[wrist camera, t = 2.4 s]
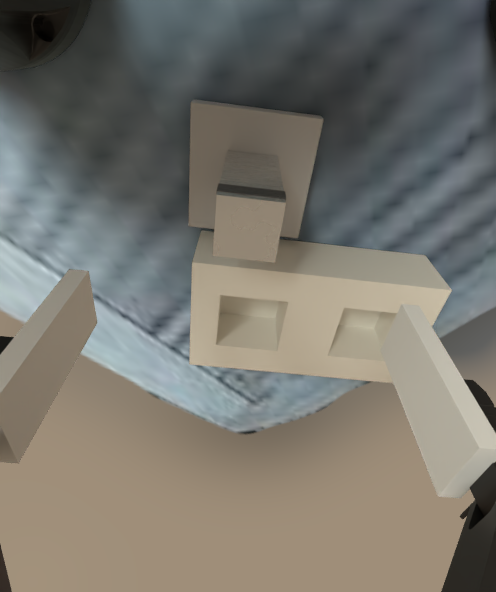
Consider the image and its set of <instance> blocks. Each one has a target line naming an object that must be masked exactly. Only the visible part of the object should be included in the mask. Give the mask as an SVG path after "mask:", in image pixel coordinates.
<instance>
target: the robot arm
mask: <svg viewBox="0 0 496 592" xmlns="http://www.w3.org/2000/svg"><path fill="white" fill-rule="evenodd" d="M90 4H91V0H0V71H11V70H19V69H26V68H32V67H36V66H39V65H42V64H45V63H47V62H49V61H51V60H53V59H54V58H56V57H57V56H59V55H60V54H61V53H63V52H64V51H65V50H66V49H67V48H68V47H69V46H70V45H71V43H72V42H73V41H74V40H75V38H76V37H77V35H78V33H79V32H80V30H81V28H82V26H83V24H84V22H85V19H86V17H87V14H88V11H89V8H90ZM96 324H97V318H96V312H95V306H94V300H93V294H92V288H91V283H90V277H89V271H83V270H73V269H69V270H68V271H67V273H66V274H65V275H64V276H63V278H62V279H61V280H60V281H59V283H58V284H57V285H56V286H55V288H54V289H53V290H52V291H51V292H50V294H49V295H48V296H47V297H46V299H45V300H44V301H43V302H42V304H41V305H40V306H39V307H38V309H37V310H36V311H35V312H34V314H33V315H32V316H31V317H30V318H29V320H28V321H27V322H26V323H25V325H24V326H23V327H22V328H21V330H20V331H19V332H18V333H17V335H16V336H15V337H4V336H0V462H7V463H19V462H20V460H21V458H22V456H23V455H24V453H25V451H26V449H27V447H28V446H29V444H30V442H31V440H32V439H33V437H34V435H35V433H36V431H37V429H38V428H39V426H40V424H41V422H42V421H43V419H44V417H45V415H46V414H47V412H48V410H49V408H50V406H51V405H52V403H53V401H54V399H55V397H56V396H57V394H58V392H59V390H60V388H61V387H62V385H63V383H64V381H65V380H66V377H67V376H68V374H69V372H70V371H71V369H72V367H73V365H74V363H75V362H76V360H77V358H78V356H79V355H80V353H81V351H82V349H83V347H84V346H85V344H86V342H87V340H88V338H89V337H90V335H91V333H92V331H93V330H94V328H95V326H96ZM381 353H382V355H383V358H384V361H385V363H386V366H387V368H388V371H389V373H390V376H391V378H392V381H393V383H394V386H395V388H396V391H397V394H398V396H399V399H400V401H401V404H402V406H403V409H404V411H405V414H406V417H407V419H408V421H409V424H410V427H411V429H412V432H413V434H414V437H415V439H416V442H417V444H418V447H419V450H420V452H421V455H422V457H423V460H424V462H425V465H426V467H427V470H428V473H429V475H430V478H431V480H432V483H433V485H434V488H435V490H436V493H437V495H438V496H440V497H452V498H462V496H463V495H464V494H465V493H466V492H467V491H468V490H469V489H470V490H471V492H472V494H473V496H474V498H475V501H474V502H473V503H472V504H471V505H470V506H469V507H468V508H467V509H466V510H465V511H464V512H463V513H462V514H461V516H460V517H461V518H462V519H464V518H465V517H466V516H467V518H466V521H465V524H464V527H463V530H462V532H461V535H460V539H459V541H458V544H457V547H456V550H455V553H454V556H453V559H452V562H451V565H450V568H449V571H448V574H447V577H446V580H445V582H444V585H443V588H442V591H441V592H496V408H495V407H494V404H493V403H492V401H491V399H490V398H489V396H488V395H487V393H486V392H485V391H484V390H483V389H482V388H481V387H480V386H479V385H478V384H477V383H476V382H474V381H473V380H465V379H463V378H462V377H461V375H460V373H459V371H458V370H457V368H456V366H455V365H454V363H453V362H452V360H451V358H450V357H449V355H448V353H447V351H446V350H445V348H444V346H443V345H442V343H441V341H440V340H439V338H438V336H437V335H436V333H435V331H434V330H433V328H432V326H431V325H430V323H429V321H428V320H427V318H426V316H425V315H424V313H423V311H422V310H421V308H420V306H417V305H408V304H401V306H400V308H399V311H398V313H397V315H396V317H395V320H394V322H393V324H392V326H391V328H390V331H389V333H388V335H387V337H386V339H385V342H384V344H383V346H382V348H381ZM0 592H12V591H11V587H10V582H9V579H8V575H7V570H6V566H5V562H4V558H3V554H2V550H1V545H0Z"/></svg>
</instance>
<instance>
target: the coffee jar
mask: <svg viewBox="0 0 496 592" xmlns="http://www.w3.org/2000/svg"><path fill="white" fill-rule="evenodd" d="M490 18H491V22H492V27H493V31H494V36H495V40H496V0H491V10H490Z"/></svg>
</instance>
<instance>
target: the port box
mask: <svg viewBox="0 0 496 592" xmlns="http://www.w3.org/2000/svg"><path fill="white" fill-rule="evenodd" d="M213 239H214V232H213V231H204V230H201V233H200V236H199V240H198V243H197V247H196V251H195V254H194V258H193V261H192V286H191V325H190V363H189V364H193V365H203V366H214V367H225V368H236V369H246V370H257V371H268V372H278V373H289V374H300V375H311V376H321V377H332V378H343V379H353V380H364V381H375V382H385V383H393V381H392V378H391V376H390V373H389V371H388V368H387V366H386V363H385V361H384V358H383V355H382V353H381V348H382V346H383V344H384V342H385V339H386V337H387V335H388V333H389V331H390V328H391V326H392V324H393V322H394V320H395V317H396V315H397V313H398V311H399V308H400V306H401V304H408V305H417V306H420V308H421V310H422V311H423V313H424V315H425V316H426V318H427V320H428V321H429V323H430V325H431V326H433V324H434V322H435V320H436V319H437V317H438V315H439V313H440V311H441V309H442V307H443V306H444V304H445V302H446V300H447V298H448V296H449V295H450V293H451V291H452V290H451V289H450V287H449V286H448V285H447V283H446V282H445V281H444V279H443V278H442V277H441V275H440V274H439V273H438V272H437V270H436V269H435V268H434V266H433V265H432V264H431V262H430V261H429V260H428V258H427V257H426V256H425V255H418V254H409V253H400V252H391V251H382V250H373V249H364V248H355V247H346V246H338V245H329V244H320V243H311V242H302V241H293V240H284V239H279V244H278V250H277V255H276V261H275V263H273V262H264V261H255V260H245V259H236V258H227V257H218V256H213Z"/></svg>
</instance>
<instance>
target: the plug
mask: <svg viewBox="0 0 496 592" xmlns="http://www.w3.org/2000/svg"><path fill="white" fill-rule="evenodd" d="M285 206H286V194H285V191H284V188H283V182H282V177H281V171H280V165H279V159H278V156H277V155H269V154H261V153H253V152H245V151H236V150H228V151H227V155H226V159H225V163H224V167H223V171H222V175H221V179H220V183H218V187H217V191H216V207H215V223H214V239H213V256H218V257H227V258H236V259H245V260H255V261H264V262H273V263H275V261H276V255H277V250H278V244H279V239H280V233H281V228H282V222H283V217H284V211H285Z"/></svg>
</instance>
